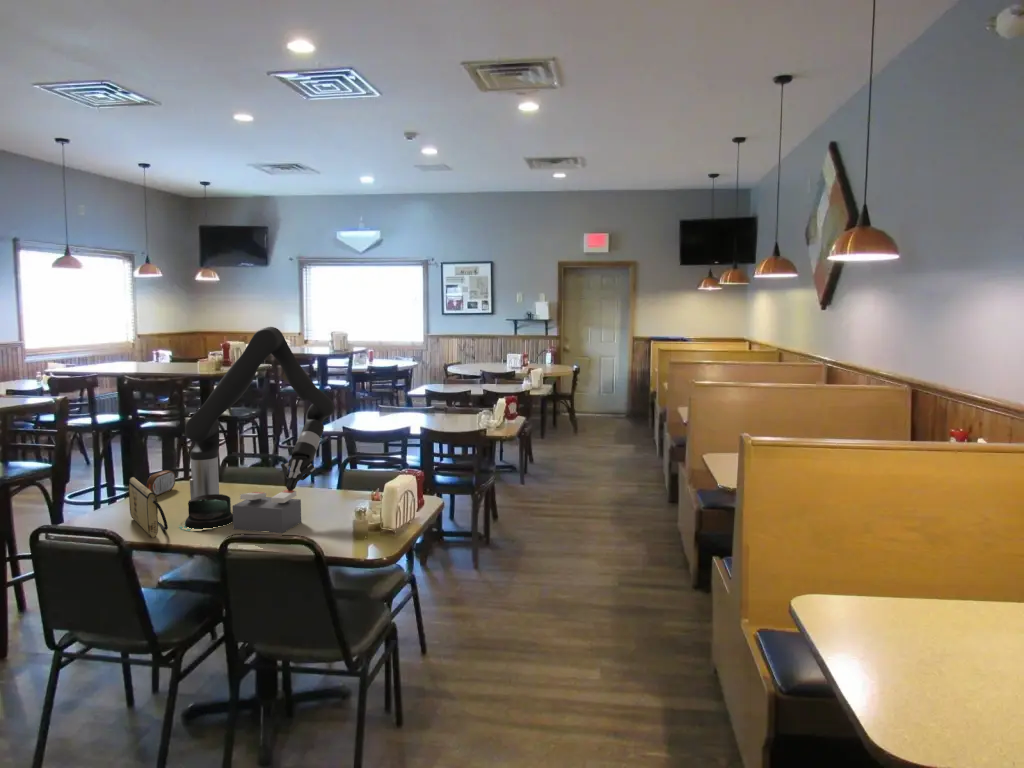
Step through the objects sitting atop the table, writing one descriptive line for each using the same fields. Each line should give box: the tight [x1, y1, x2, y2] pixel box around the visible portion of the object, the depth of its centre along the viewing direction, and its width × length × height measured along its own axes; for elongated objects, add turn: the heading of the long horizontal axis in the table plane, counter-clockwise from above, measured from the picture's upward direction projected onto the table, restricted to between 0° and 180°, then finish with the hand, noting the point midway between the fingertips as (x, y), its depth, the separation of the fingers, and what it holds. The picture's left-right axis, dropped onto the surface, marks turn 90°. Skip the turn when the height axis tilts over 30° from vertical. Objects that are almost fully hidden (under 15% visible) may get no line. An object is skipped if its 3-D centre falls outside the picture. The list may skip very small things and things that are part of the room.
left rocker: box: [239, 491, 267, 500], centre depth 232 cm, size 8×4×2 cm, turn 167°
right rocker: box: [270, 489, 297, 503], centre depth 232 cm, size 8×4×2 cm, turn 167°
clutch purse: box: [128, 476, 169, 538], centre depth 231 cm, size 30×7×15 cm, turn 40°
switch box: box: [231, 496, 302, 534], centre depth 232 cm, size 12×18×9 cm, turn 77°
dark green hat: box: [178, 493, 233, 532], centre depth 236 cm, size 20×20×9 cm
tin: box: [145, 469, 176, 497], centre depth 272 cm, size 15×3×8 cm, turn 172°
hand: (289, 489), depth 235 cm, fingers closed
